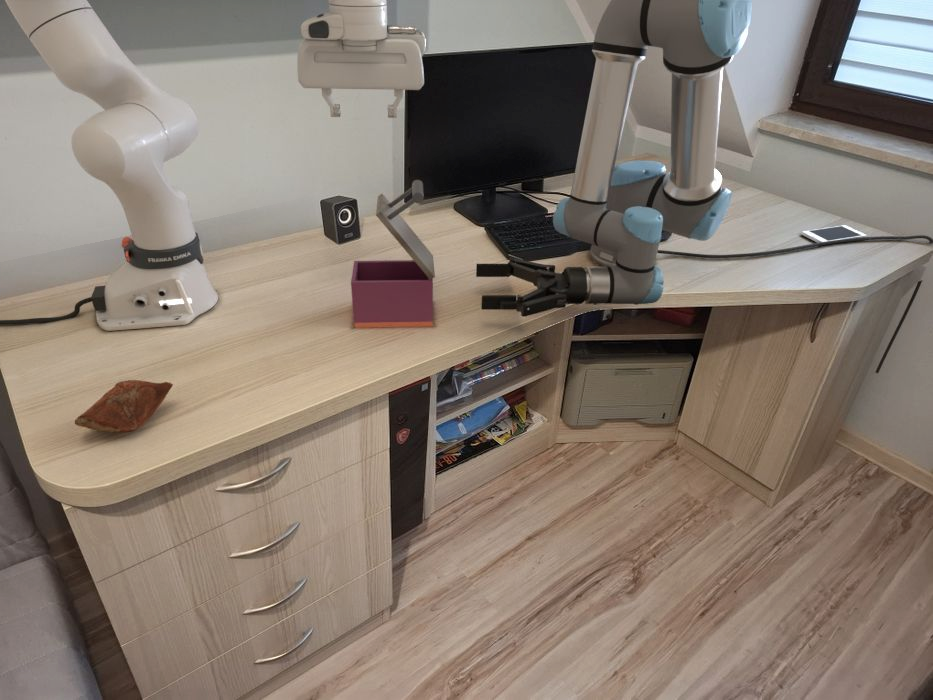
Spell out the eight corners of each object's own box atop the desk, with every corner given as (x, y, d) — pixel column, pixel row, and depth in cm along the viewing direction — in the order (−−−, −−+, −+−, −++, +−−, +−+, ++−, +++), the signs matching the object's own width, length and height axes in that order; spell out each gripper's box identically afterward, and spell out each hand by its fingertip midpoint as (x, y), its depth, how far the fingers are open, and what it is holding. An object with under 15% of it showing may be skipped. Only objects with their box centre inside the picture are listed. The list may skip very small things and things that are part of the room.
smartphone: (800, 234, 170) (801, 231, 170) (844, 227, 175) (845, 224, 174) (821, 245, 165) (822, 241, 164) (865, 238, 169) (867, 234, 169)
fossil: (179, 377, 103) (140, 354, 94) (189, 423, 99) (149, 403, 90) (107, 409, 103) (61, 389, 94) (114, 456, 99) (67, 439, 90)
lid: (375, 215, 112) (414, 186, 110) (377, 196, 120) (414, 169, 117) (430, 280, 120) (467, 255, 118) (428, 258, 128) (464, 234, 125)
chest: (354, 327, 124) (350, 282, 119) (357, 304, 132) (354, 260, 127) (432, 326, 126) (432, 281, 120) (431, 303, 133) (431, 259, 128)
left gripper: (425, 23, 103) (425, 112, 110) (296, 20, 101) (305, 111, 109) (426, 29, 98) (426, 122, 105) (290, 26, 96) (300, 120, 104)
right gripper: (595, 334, 120) (483, 335, 119) (569, 273, 141) (473, 274, 139) (601, 299, 116) (485, 299, 115) (573, 242, 137) (475, 242, 135)
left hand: (364, 116), depth 107 cm, fingers open, 8 cm apart
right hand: (478, 285), depth 127 cm, fingers open, 13 cm apart
